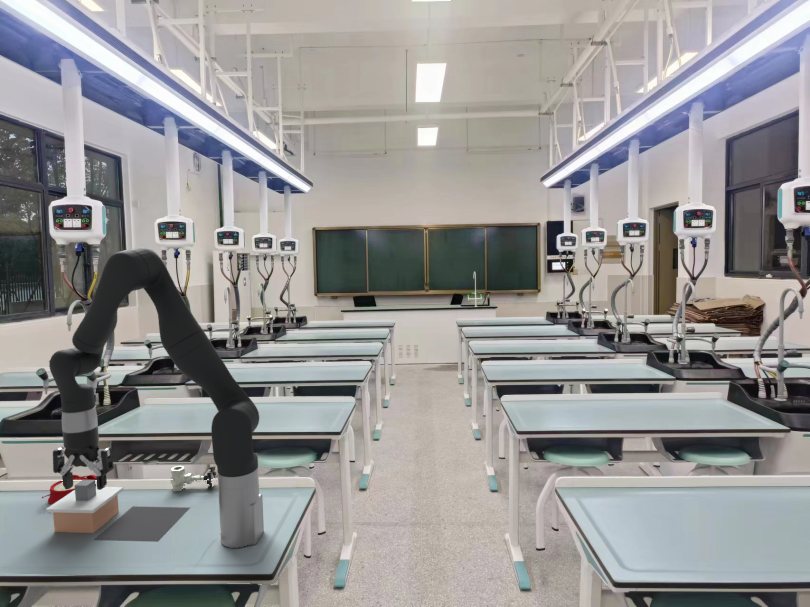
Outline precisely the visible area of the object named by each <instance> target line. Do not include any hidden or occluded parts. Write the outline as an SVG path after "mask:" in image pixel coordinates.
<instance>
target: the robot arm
mask: <svg viewBox="0 0 810 607" xmlns="http://www.w3.org/2000/svg"><path fill="white" fill-rule="evenodd" d="M141 289H143V290H144V291H145V292H146V294H147V295H148V297H149V298H150V299H151V301H152V304H154V307H155V310H156V313H157V318H158V329H159V337H160V342H161V345H162V347H163V348H164V350H165V352H166V353H167V355H168V356H169V358H170V359H171V360H172V362H173V364H174V365H175V366H176V368H177V369H178V370H179V371H180V372H181V373H182V374H183V375H184V376H186V378H188V379H189V380H191V381H192V382H194V383H195V384H196V385H197V386H199V387H200V388H201V389H202V390H204V392H205V393H206V394H207V395H208V396H209V398H210V399H211V402H212V403H213V404H214V406H215V408H216V410H217V412H216V413H215V415H214V416H213V419H212V421H211V430H210V432H211V444H212V446H211V447H212V455H213V461H214V464H215V465H216V468H217V470H216V473H217V488H218V490H217V491H218V507H219V508H218V509H219V510H218V511H219V528H220V530H219V531H220V533H219V534H220V542H221V544H222V545H223V546H225V547H226V548H230V549H231V548H233V549H237V548H238V549H239V547H240V548H244V546H245V547H248V546H250V545H252V546H253V545H257V543H258V541H259V539H260V538H261V536H263V534H264V531H265V527H264V526H265V525H264V502H263V500H264V499H263V494H260V484H259V482H260V480H259V458H258V455H257V453H255V452H254V444H253V443H254V441H253V434H254V432H255V430H256V429H257V428H258V425H259V423H260V413H259V410H258V407H257V406H256V404H255V403H254V402H253V401H252V398H250V397H249V395H248V394H247V393H246V392H245V391H244V389H243V388H242V387H241V386H240V384H239V383H238V382H237V381H236V380H235V378H234V377H233V375H232V374H231V372H230V370H228V367H227V365H226V364H225V363H224V361H223V359H222V358H221V356H220V355H219V353H218V351H217V350H216V348H215V347H214V345H213V344H212V342H211V340H210V339H209V337H208V336H207V334H206V333H205V331H204V329H203V328H202V327H201V325H200V324H199V322H198V321H197V319H196V318H195V316H194V315H193V313H192V311H191V309H190V307H189V306H188V305H187V303H186V301H185V299H183V297H182V295H181V294H180V292H179V289H178V287H177V286H176V284H175V282H174V280H173V278H172V276H171V274H170V272H169V270H168V268H167V266H166V265H165V263H164V261H163V260H162V258H161V257H160V256H159V254H158V253H157V252H156V251H154V250H153V249H151V248H149V247H135V248H130V249H125V250H120V251H117V252H115V253H113V254H112V255H110V257H109V258H108V260H106V263H105V265H104V268H103V270H102V272H101V275H100V278H99V282H98V284H97V287H96V290H95V292H94V296H93V298H92V301H91V303H90V306H89V308H88V310H87V311H86V313H85V315H84V316H83V318H82V320H81V322H80V323H79V325H78V327H77V328H76V330H75V331H74V333H73V335H72V338H71V341H72V345H73V346H74V347H72V348H66V349H60V350H57V351H55V352H54V353H53V354H52V355H51V357H50V360H49V365H48V366H49V370H50V374H51V376H52V378H53V380H54V382H55V384H56V387H57V390H58V392H59V395H60V402H61V429H62V430H61V431H62V440H63V441H62V442H63V446H60V447H58V448H56V449H54V450H52V470H53V473H55V474H57V473H58V474H60V475H61V476H62V478H61V480H63V486H64V487H65V489H70V488H71V487H73V475H74V474H73V471H72V470H73V469H74V467H76V468H77V467H84V468H88V469H89V470H90V471H93V472H94V473H95V476H96V480H97V489H98V490H101V489H103V488H104V487H106V486H107V484H108V482H107V474H109V473H110V472H111V471H113V470H114V468H115V467H114V458H113V452H112V447H109V446H108V447H106V448H100V447H99V440H100V437H99V436H100V435H99V424H98V413H97V409H96V400H95V390H94V387H93V386H92V385H91V384H90V383H78V382H77V380H76V377H78V376H84V375H87V374H90V373H92V372H94V371H96V369H98V368H99V366H100V365H101V362H102V358H103V353H104V349H105V345H106V343H107V342H108V341H109V340H110V338H111V336H112V334H114V332H115V329H116V328H117V325H118V324H117V323H118V311H119V310H118V309H119V307H120V306H121V304H122V302H123V301H124V300H125V299H126V297H128V296H129V294H131V293H132V292H133V291H138V290H141ZM65 457H66V458H67V461H66V462H65ZM71 471H72V472H71ZM247 545H248V546H247Z"/></svg>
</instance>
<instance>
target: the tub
mask: <svg viewBox="0 0 810 607" xmlns="http://www.w3.org/2000/svg"><path fill="white" fill-rule="evenodd" d="M118 495H119V494H118ZM118 495H116V496H115V497H114V498H113V499H111V500H110V501H109V502H107V503H106V504H105V505H103V506H102V507H101V508H100V509H98V510H97V511H96V512H94V513H59V512H52V516H53V517H52V518H53V528H54V533H77V534H79V533H84V534H85V533H86V534H87V533H88V534H94V533H96V531H98V530H99V529H100V528H102V527H103V526H104V525H105V524H106V523H107V522H109V521H110V520H111V519H113V517H115V516H116V515H117V514H118V513H120V511H119V498H118V497H119V496H118Z"/></svg>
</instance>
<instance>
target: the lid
mask: <svg viewBox="0 0 810 607" xmlns="http://www.w3.org/2000/svg"><path fill="white" fill-rule="evenodd" d="M123 491H124V487H122V486H105V487H104V488H103V489H101V490H98V489H97V487H96V484H95V480H82V481H81V482H79V483H77V484H76V485H75V490H74V491H72V492H71V493H69V494H68V495H66V496H65V497H63V498H62V499H60V500H59V501H57V502H56V503H54V504H53V505H51V504H50V506H48V507H47V508H45V513H53V512H59V513H94V512H96V511H97V510H98V509H100V508H101V507H102V506H103V505H105V504H106V503H107V502H109V501H110V500H111V499H113V498H114V497H115V496H116V495H119V494H120V493H121V492H123Z"/></svg>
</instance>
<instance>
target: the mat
mask: <svg viewBox="0 0 810 607" xmlns="http://www.w3.org/2000/svg"><path fill="white" fill-rule="evenodd" d="M190 508H191V507H187V506H186V507H184V506H183V507H180V506H179V507H177V506H174V507H173V506H135V505H134V506H131V507H130V508H129V509H128V510H127V511H125V512H124V513H123V514H122V515H120V516H119V518H117V519H116V520H115V521H113V523H112V524H110V525H109V526H107V528H105V529H104V530H103V531H102V532H101V533H100V534H98V535H97V536H96V537H95V538H93V541H116V542H117V541H122V542H125V541H126V542H129V541H130V542H132V541H133V542H159V541H160V540H162V539H163V537H164V536H165V535H166V534H167V533H168V532H169V531H170V530H171V529H172V528H173V527H174V526H175V524H177V522H178V521H179V520H180V519H181V518H182V517H183V516H184V515H185V514H186V513H187V512H188V511H189V510H190Z"/></svg>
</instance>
